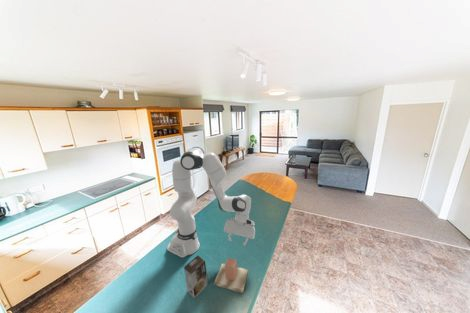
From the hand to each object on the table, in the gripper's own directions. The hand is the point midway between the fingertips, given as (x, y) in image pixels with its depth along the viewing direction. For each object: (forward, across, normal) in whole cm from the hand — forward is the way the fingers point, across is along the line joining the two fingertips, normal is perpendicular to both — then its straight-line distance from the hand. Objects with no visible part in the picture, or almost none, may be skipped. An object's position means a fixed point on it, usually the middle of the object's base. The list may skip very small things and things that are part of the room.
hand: (236, 243), depth 102 cm
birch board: (+18, +2, -1) cm, 18 cm away
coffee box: (+25, -14, -9) cm, 30 cm away
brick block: (+16, +1, -2) cm, 16 cm away
